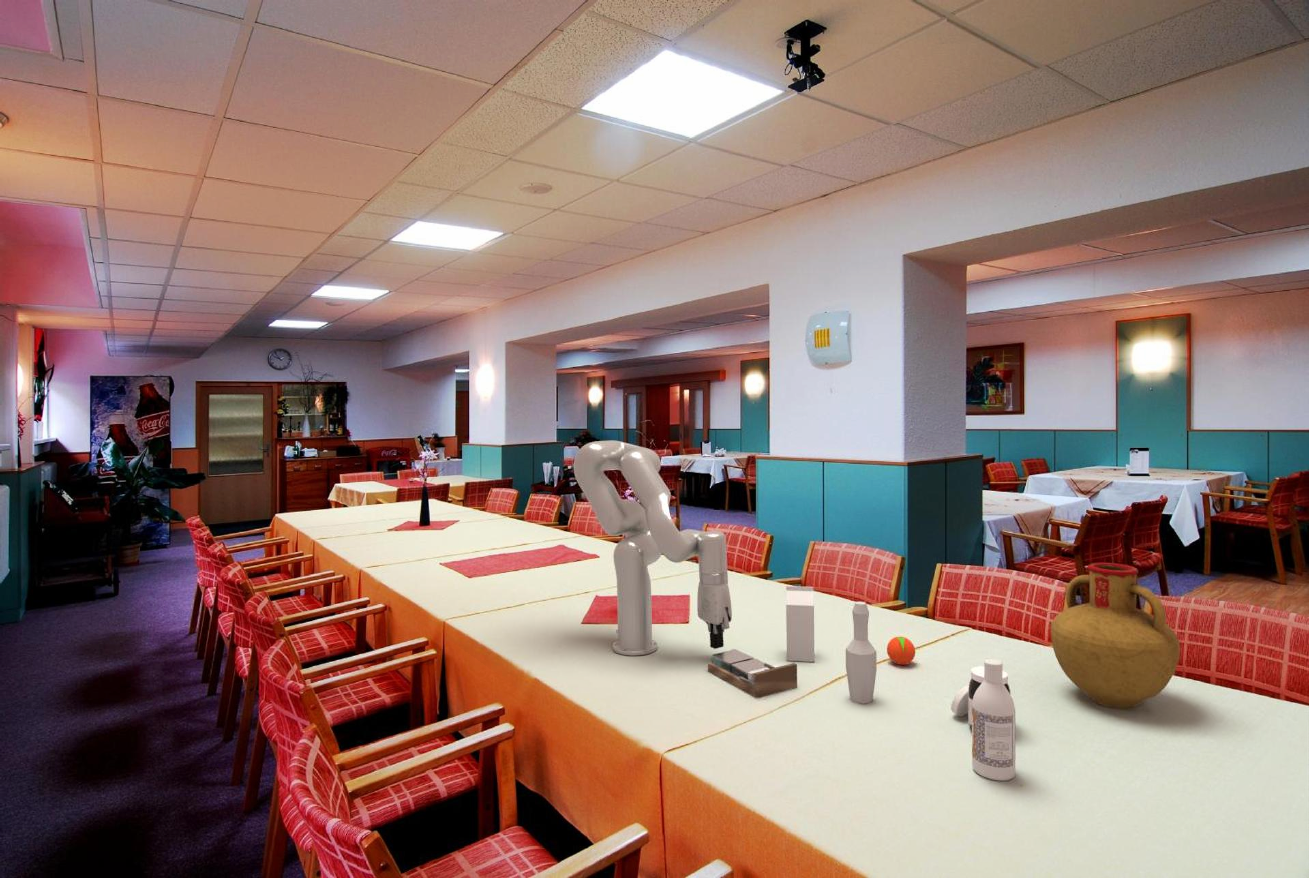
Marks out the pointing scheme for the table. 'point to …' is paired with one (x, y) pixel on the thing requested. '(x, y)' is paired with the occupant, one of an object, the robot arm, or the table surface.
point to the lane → (761, 679)
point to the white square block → (746, 667)
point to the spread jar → (972, 693)
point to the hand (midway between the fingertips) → (717, 646)
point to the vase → (1114, 639)
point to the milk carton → (800, 623)
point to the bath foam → (993, 726)
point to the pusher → (751, 673)
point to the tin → (729, 659)
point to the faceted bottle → (861, 658)
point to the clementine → (901, 650)
